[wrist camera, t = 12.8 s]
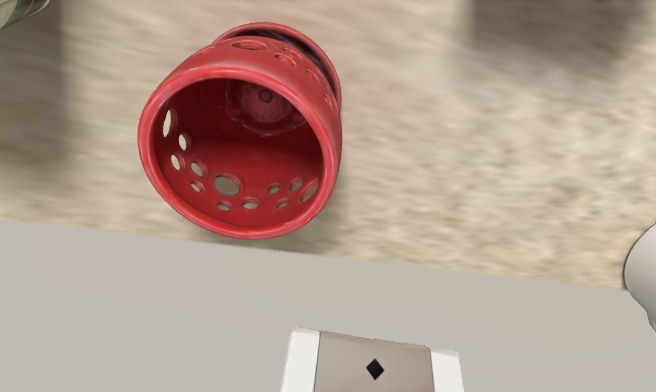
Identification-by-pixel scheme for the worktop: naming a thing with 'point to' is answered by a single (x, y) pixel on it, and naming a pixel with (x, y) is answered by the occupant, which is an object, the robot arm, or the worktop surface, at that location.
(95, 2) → the worktop surface
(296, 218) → the plant pot
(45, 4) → the coffee can
